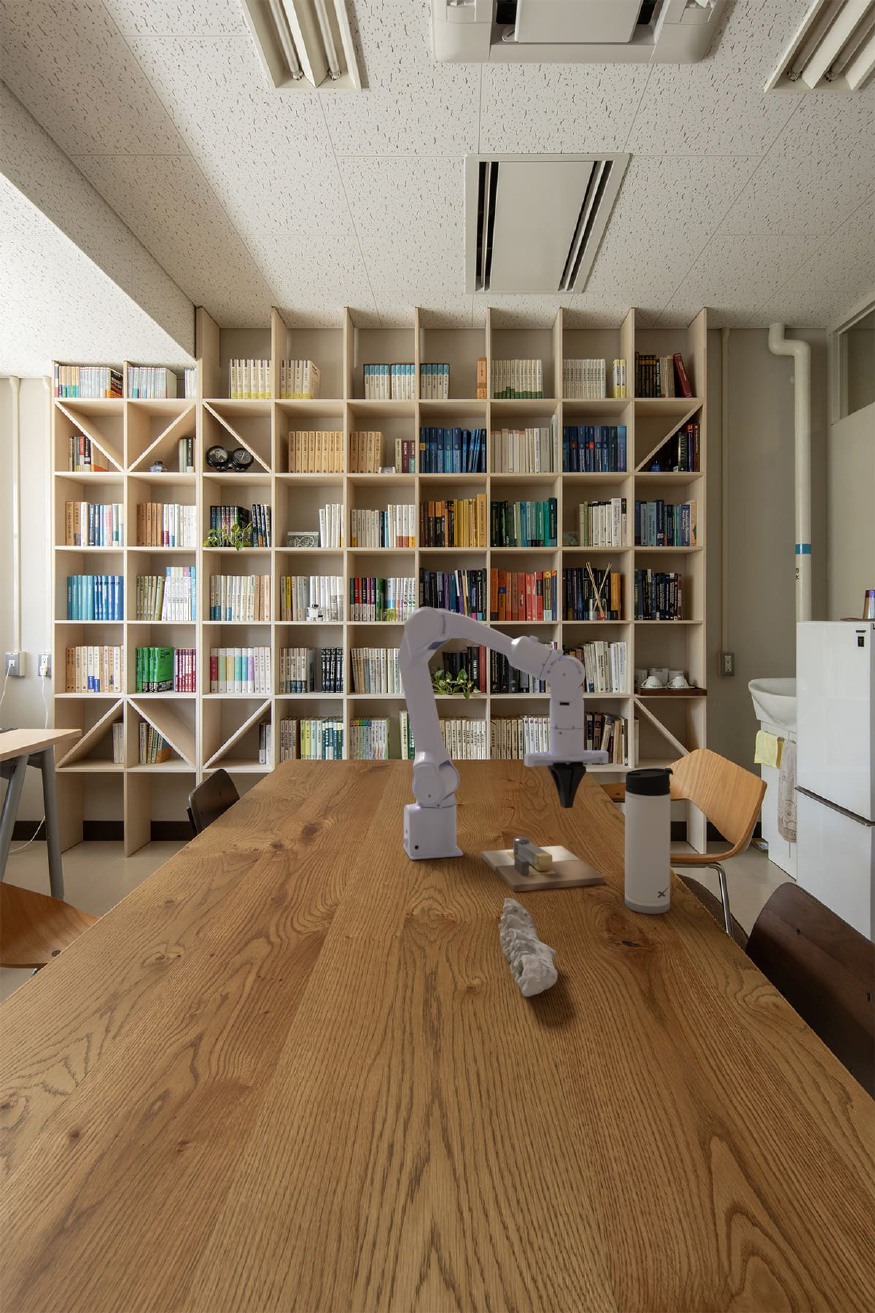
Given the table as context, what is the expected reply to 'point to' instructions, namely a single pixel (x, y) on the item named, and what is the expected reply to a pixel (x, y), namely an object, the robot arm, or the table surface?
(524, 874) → the door board
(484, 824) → the table surface
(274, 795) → the table surface
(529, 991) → the fossil
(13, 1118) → the table surface
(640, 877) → the travel mug
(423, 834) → the robot arm
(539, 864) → the latch bar
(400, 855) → the table surface
